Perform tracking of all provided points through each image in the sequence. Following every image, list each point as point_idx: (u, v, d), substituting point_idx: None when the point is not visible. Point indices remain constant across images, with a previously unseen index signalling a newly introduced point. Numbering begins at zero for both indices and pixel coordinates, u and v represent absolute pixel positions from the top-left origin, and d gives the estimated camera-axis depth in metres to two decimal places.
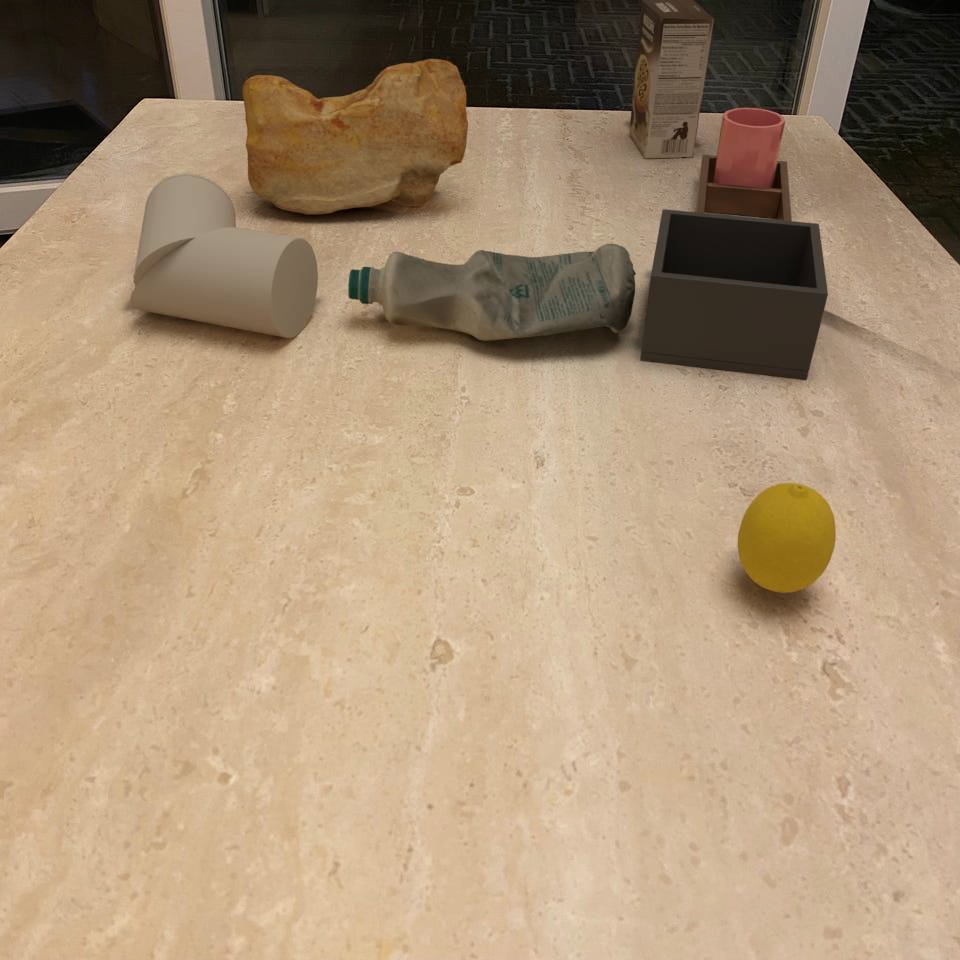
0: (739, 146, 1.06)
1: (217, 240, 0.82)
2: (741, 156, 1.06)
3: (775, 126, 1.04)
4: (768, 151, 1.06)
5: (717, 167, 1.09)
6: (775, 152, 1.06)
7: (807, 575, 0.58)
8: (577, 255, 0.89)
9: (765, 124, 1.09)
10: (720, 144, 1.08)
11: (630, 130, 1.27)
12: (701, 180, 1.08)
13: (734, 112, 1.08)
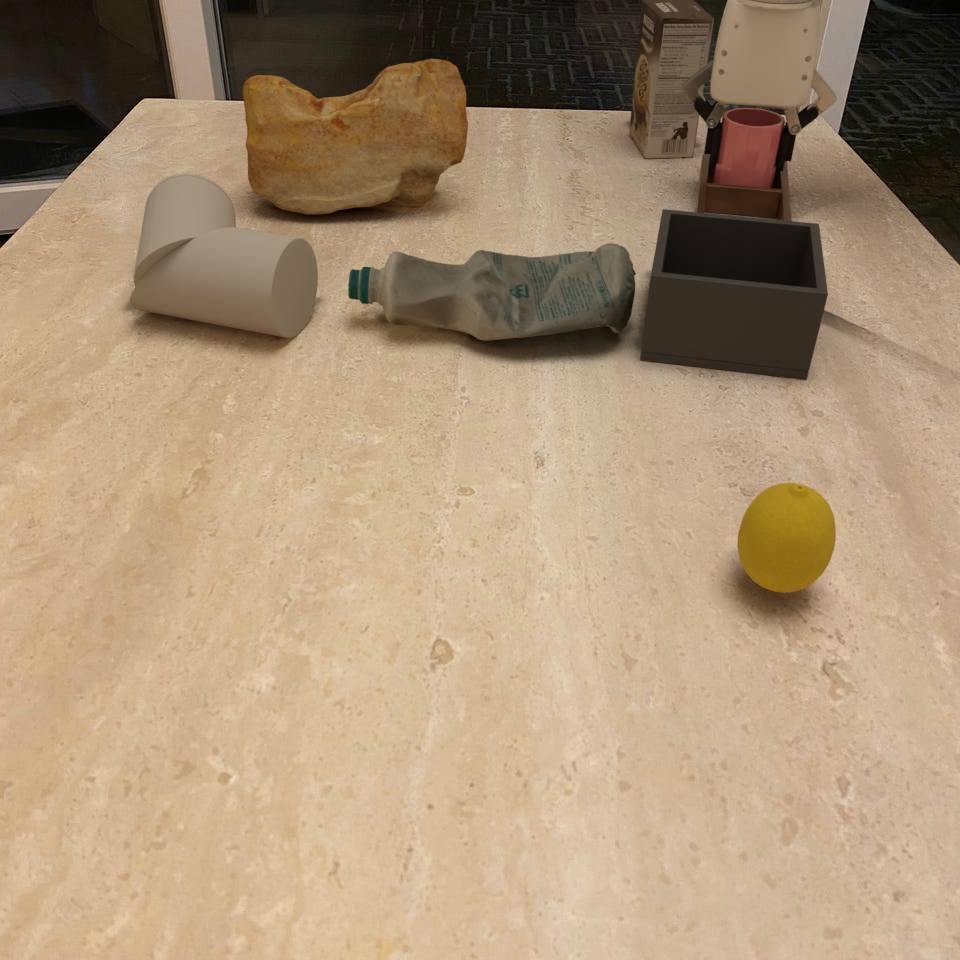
0: (739, 146, 1.06)
1: (217, 240, 0.82)
2: (741, 156, 1.06)
3: (775, 126, 1.04)
4: (768, 151, 1.06)
5: (717, 167, 1.09)
6: (775, 152, 1.06)
7: (807, 575, 0.58)
8: (577, 255, 0.89)
9: (765, 124, 1.09)
10: (720, 144, 1.08)
11: (630, 130, 1.27)
12: (701, 180, 1.08)
13: (734, 112, 1.08)
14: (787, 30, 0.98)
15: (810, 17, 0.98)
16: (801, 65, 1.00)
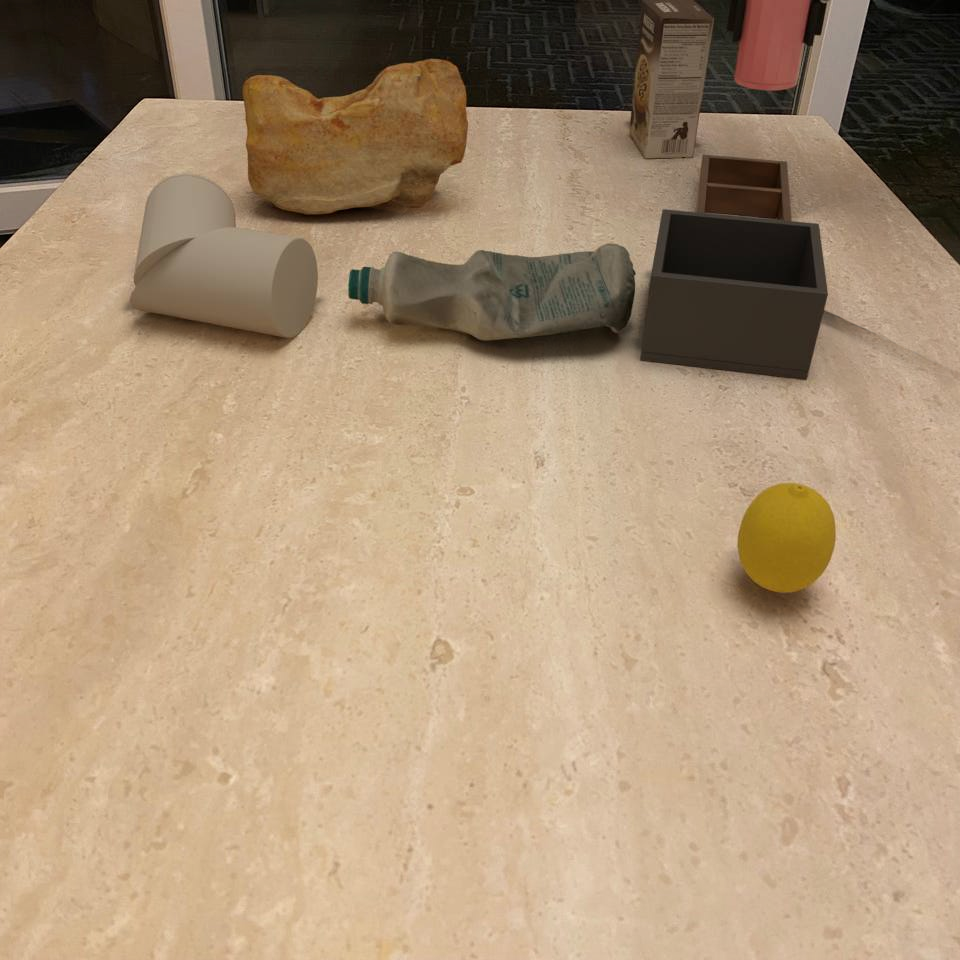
0: (765, 17, 0.97)
1: (217, 240, 0.82)
2: (767, 28, 0.98)
3: None
4: (796, 22, 0.98)
5: (741, 45, 1.01)
6: (804, 24, 0.98)
7: (807, 575, 0.58)
8: (577, 255, 0.89)
9: None
10: (744, 18, 1.00)
11: (630, 130, 1.27)
12: (701, 180, 1.08)
13: None
14: None
15: None
16: None
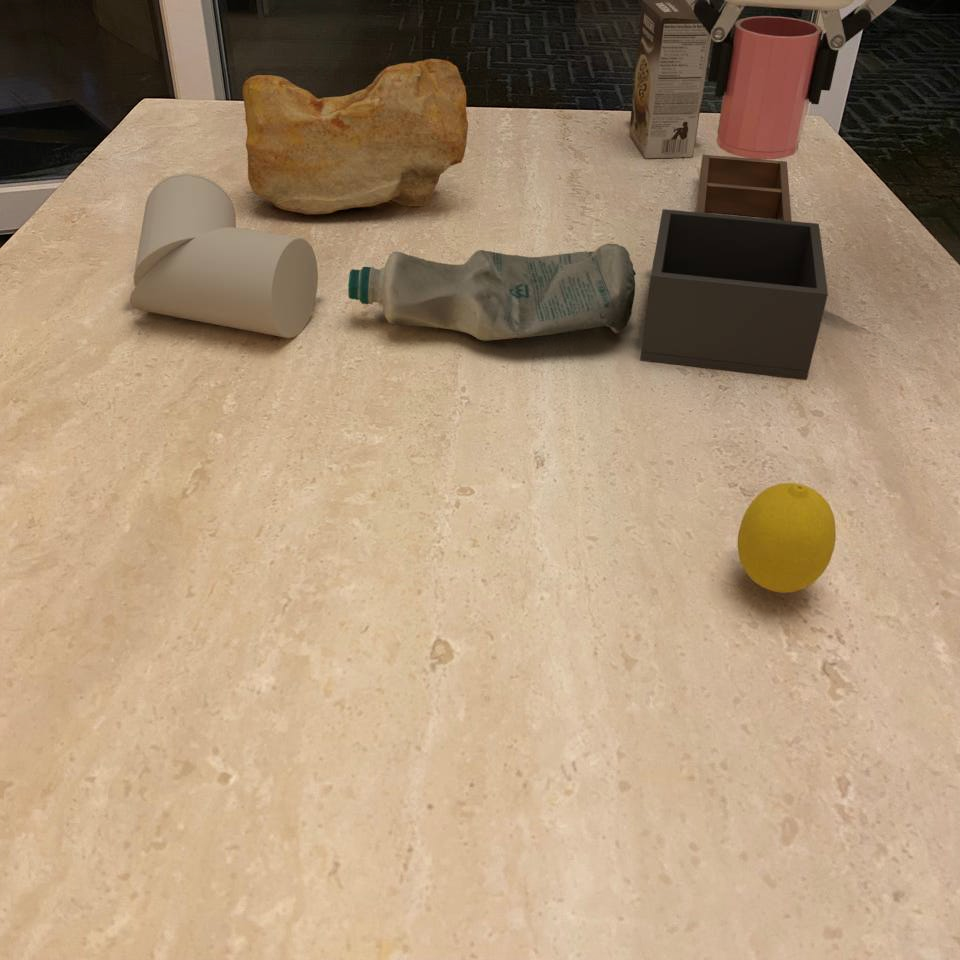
0: (757, 66, 0.74)
1: (217, 240, 0.82)
2: (760, 81, 0.75)
3: (809, 37, 0.73)
4: (798, 74, 0.75)
5: (726, 99, 0.78)
6: (808, 76, 0.75)
7: (807, 575, 0.58)
8: (577, 255, 0.89)
9: None
10: (730, 66, 0.77)
11: (630, 130, 1.27)
12: (701, 180, 1.08)
13: (750, 22, 0.77)
14: None
15: None
16: None
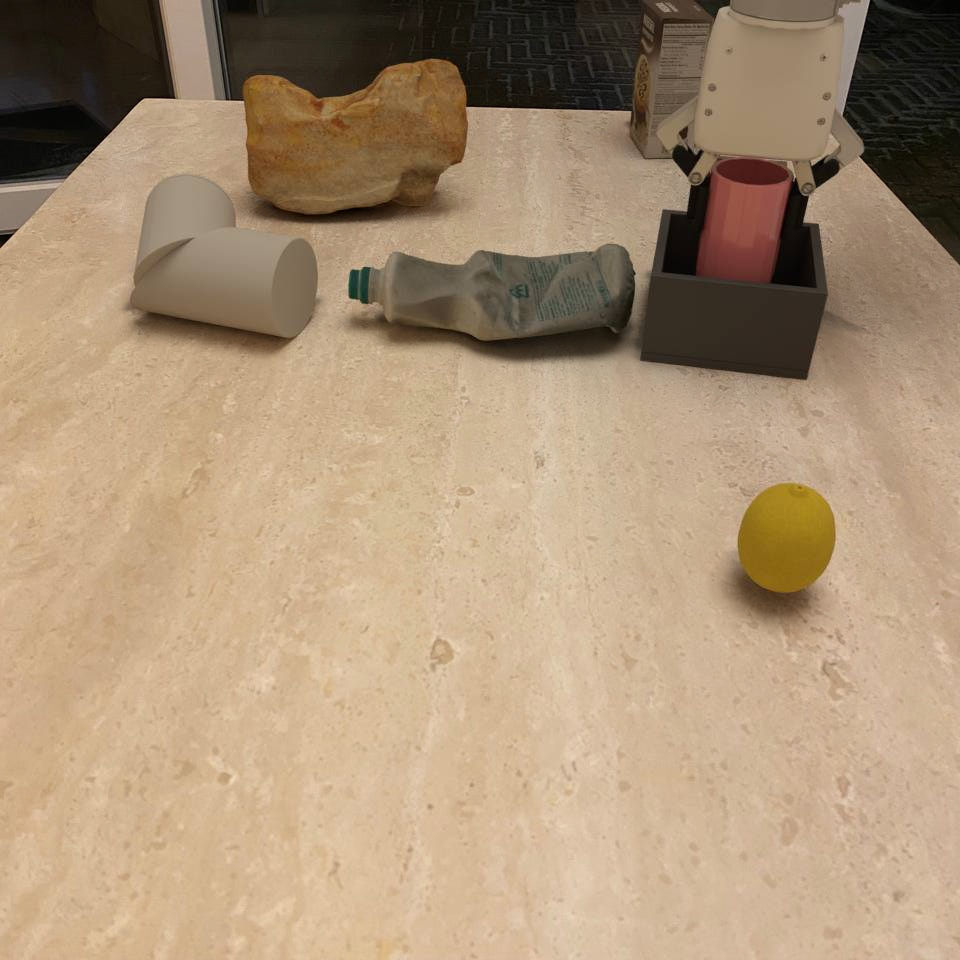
0: (732, 210, 0.79)
1: (217, 240, 0.82)
2: (735, 224, 0.79)
3: (781, 185, 0.77)
4: (771, 217, 0.79)
5: (703, 236, 0.82)
6: (781, 218, 0.79)
7: (807, 575, 0.58)
8: (577, 255, 0.89)
9: (767, 179, 0.82)
10: (707, 206, 0.81)
11: (630, 130, 1.27)
12: None
13: (726, 163, 0.81)
14: (798, 57, 0.71)
15: (830, 40, 0.71)
16: (817, 105, 0.73)
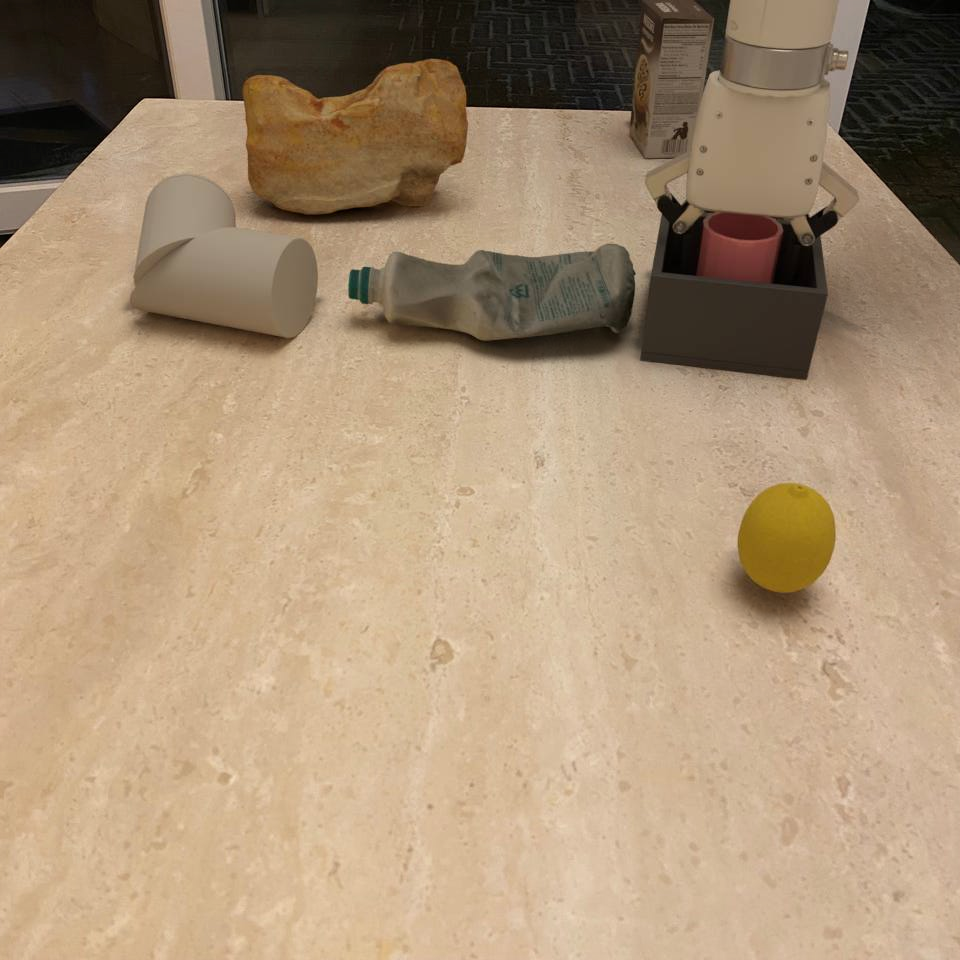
0: (724, 264, 0.81)
1: (217, 240, 0.82)
2: (726, 276, 0.82)
3: (770, 240, 0.80)
4: (761, 270, 0.81)
5: None
6: (770, 270, 0.82)
7: (807, 575, 0.58)
8: (577, 255, 0.89)
9: (758, 231, 0.85)
10: (700, 258, 0.83)
11: (630, 130, 1.27)
12: None
13: (718, 216, 0.84)
14: (786, 122, 0.74)
15: (816, 106, 0.74)
16: (804, 166, 0.76)
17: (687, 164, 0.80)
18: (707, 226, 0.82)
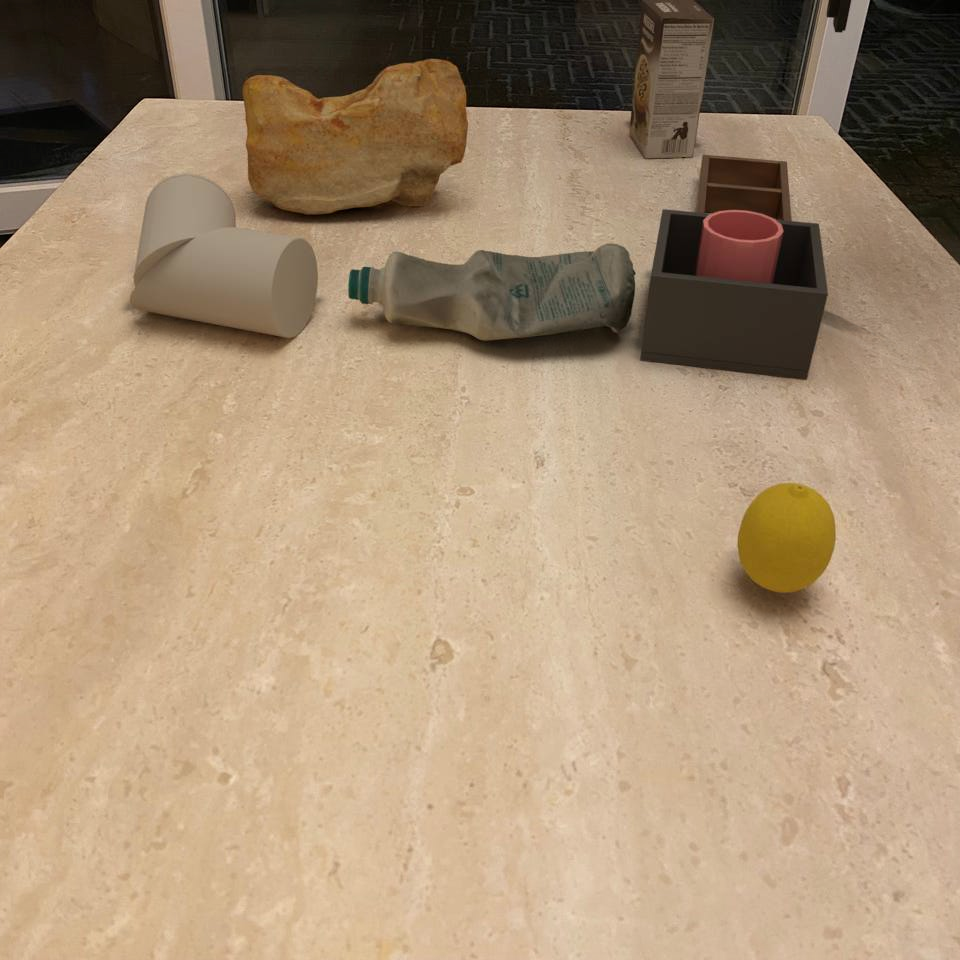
0: (724, 264, 0.81)
1: (217, 240, 0.82)
2: (726, 276, 0.82)
3: (770, 240, 0.80)
4: (761, 270, 0.81)
5: None
6: (770, 270, 0.82)
7: (807, 575, 0.58)
8: (577, 255, 0.89)
9: (758, 231, 0.85)
10: (700, 258, 0.84)
11: (630, 130, 1.27)
12: (701, 180, 1.08)
13: (718, 216, 0.84)
14: None
15: None
16: None
17: None
18: (707, 226, 0.82)
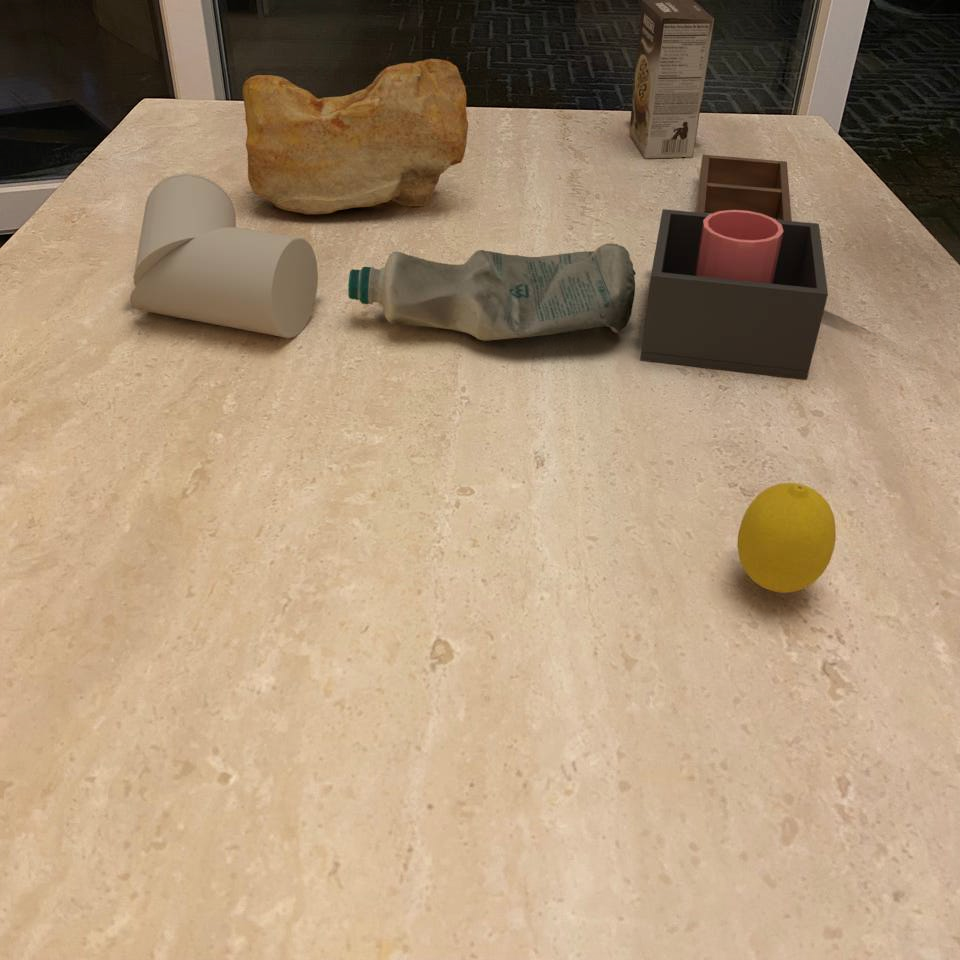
0: (724, 264, 0.81)
1: (217, 240, 0.82)
2: (726, 276, 0.82)
3: (770, 240, 0.80)
4: (761, 270, 0.81)
5: None
6: (770, 270, 0.82)
7: (807, 575, 0.58)
8: (577, 255, 0.89)
9: (758, 231, 0.85)
10: (700, 258, 0.84)
11: (630, 130, 1.27)
12: (701, 180, 1.08)
13: (718, 216, 0.84)
14: None
15: None
16: None
17: None
18: (707, 226, 0.82)
